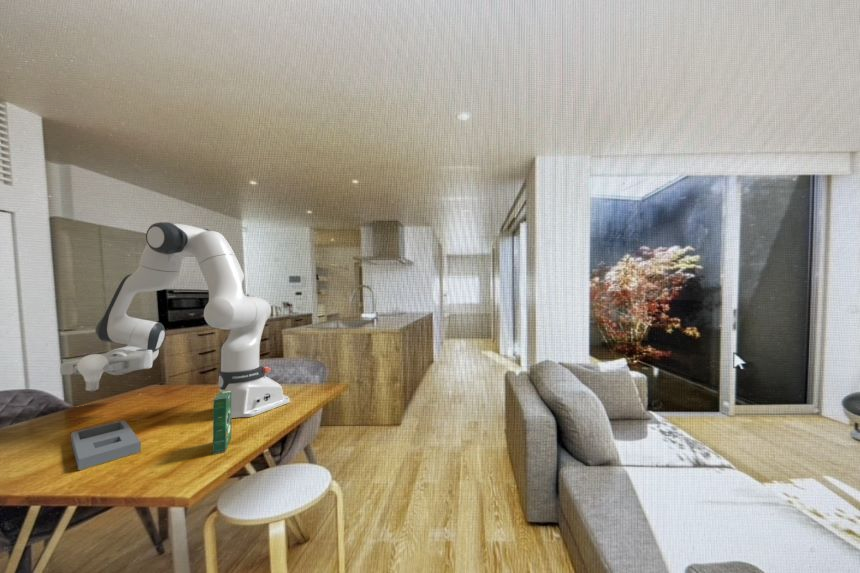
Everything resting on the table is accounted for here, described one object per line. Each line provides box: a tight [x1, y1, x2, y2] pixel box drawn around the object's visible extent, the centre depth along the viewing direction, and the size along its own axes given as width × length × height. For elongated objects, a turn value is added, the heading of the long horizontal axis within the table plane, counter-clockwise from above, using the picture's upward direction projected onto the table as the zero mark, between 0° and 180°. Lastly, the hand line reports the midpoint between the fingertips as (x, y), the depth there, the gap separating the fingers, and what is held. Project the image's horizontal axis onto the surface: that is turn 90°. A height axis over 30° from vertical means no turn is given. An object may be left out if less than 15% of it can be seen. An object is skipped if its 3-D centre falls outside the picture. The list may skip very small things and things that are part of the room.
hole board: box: [70, 419, 142, 471], centre depth 77 cm, size 10×24×2 cm, turn 53°
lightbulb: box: [77, 353, 109, 392], centre depth 89 cm, size 6×6×11 cm
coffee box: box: [212, 391, 232, 455], centre depth 76 cm, size 8×3×13 cm, turn 25°
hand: (90, 369), depth 88 cm, fingers closed on lightbulb, 6 cm apart
